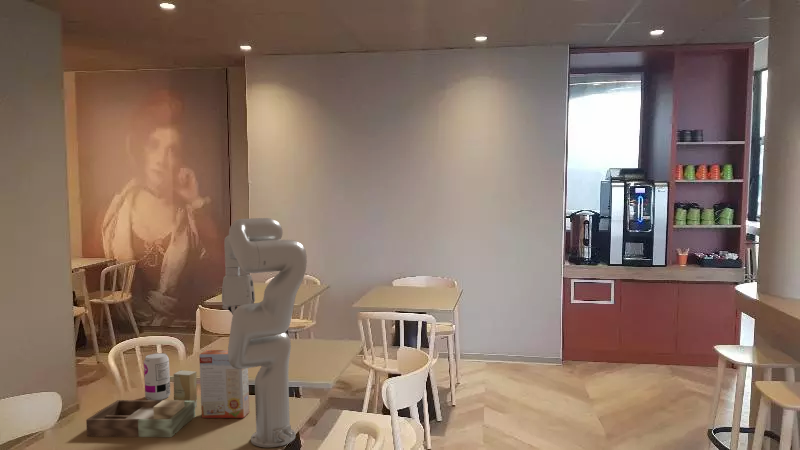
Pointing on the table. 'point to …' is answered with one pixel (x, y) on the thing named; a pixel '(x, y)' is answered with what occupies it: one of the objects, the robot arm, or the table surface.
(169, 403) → the maple block
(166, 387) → the supplement can
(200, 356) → the cracker box
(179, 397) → the skincare box
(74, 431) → the table surface
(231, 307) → the robot arm
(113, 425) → the track
